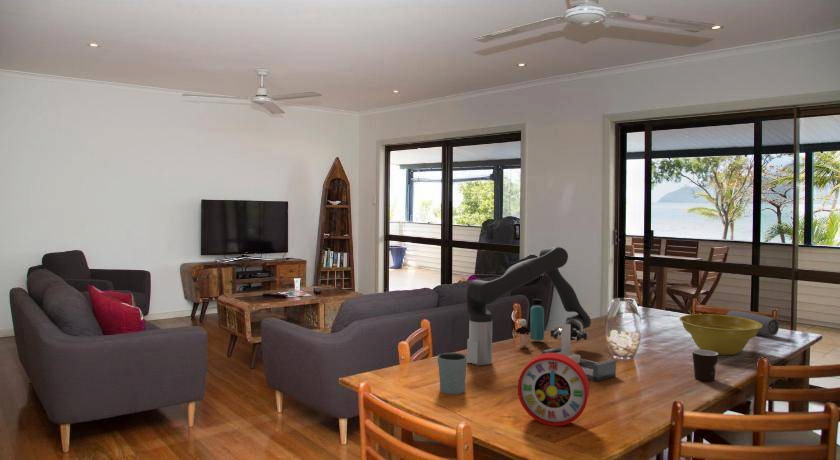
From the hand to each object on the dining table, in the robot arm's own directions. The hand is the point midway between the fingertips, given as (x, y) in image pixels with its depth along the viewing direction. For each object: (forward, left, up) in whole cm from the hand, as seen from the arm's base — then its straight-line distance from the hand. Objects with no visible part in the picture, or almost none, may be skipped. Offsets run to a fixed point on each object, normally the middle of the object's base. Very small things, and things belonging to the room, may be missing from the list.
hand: (566, 337), depth 231 cm
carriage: (-1, -1, -9) cm, 10 cm away
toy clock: (-50, -36, -12) cm, 63 cm away
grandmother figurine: (+9, +31, -12) cm, 35 cm away
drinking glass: (-55, +4, -12) cm, 57 cm away
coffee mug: (+29, -42, -12) cm, 52 cm away
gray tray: (-1, -7, -11) cm, 13 cm away
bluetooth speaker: (+122, -17, -12) cm, 123 cm away
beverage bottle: (+22, +34, -12) cm, 42 cm away
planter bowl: (+73, -25, -12) cm, 78 cm away
